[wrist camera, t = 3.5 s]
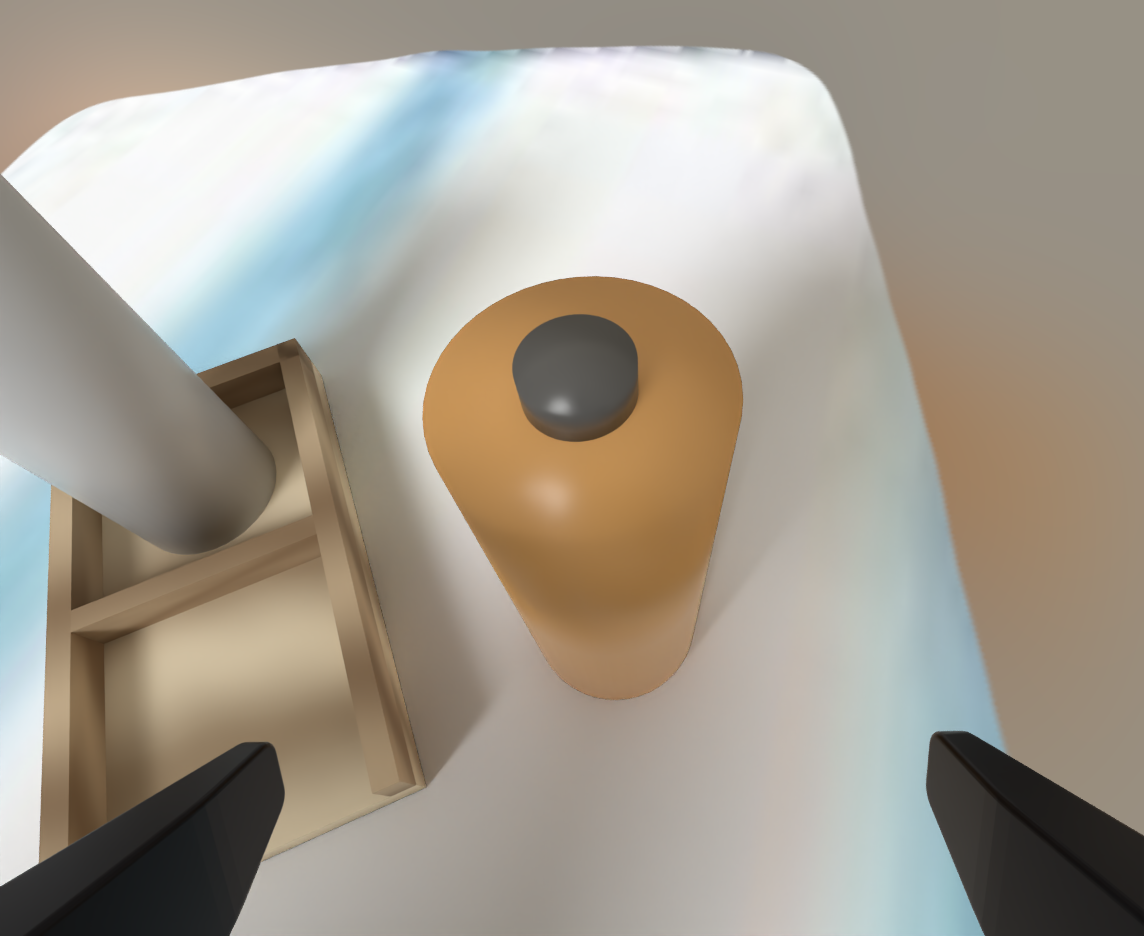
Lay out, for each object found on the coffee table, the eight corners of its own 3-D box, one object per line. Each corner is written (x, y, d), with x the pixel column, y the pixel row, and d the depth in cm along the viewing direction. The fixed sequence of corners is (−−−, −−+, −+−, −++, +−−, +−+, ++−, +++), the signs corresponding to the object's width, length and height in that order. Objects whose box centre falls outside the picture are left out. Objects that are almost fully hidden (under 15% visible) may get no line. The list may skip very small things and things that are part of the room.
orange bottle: (649, 732, 20) (652, 581, 8) (506, 649, 22) (338, 426, 10) (719, 586, 22) (802, 297, 10) (584, 521, 24) (521, 211, 12)
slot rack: (426, 787, 20) (399, 781, 18) (105, 931, 19) (36, 944, 17) (321, 375, 29) (294, 338, 27) (99, 457, 28) (53, 426, 26)
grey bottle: (206, 579, 23) (-257, 309, 11) (112, 517, 25) (-375, 228, 13) (304, 463, 25) (0, 133, 13) (211, 414, 27) (-132, 83, 15)
